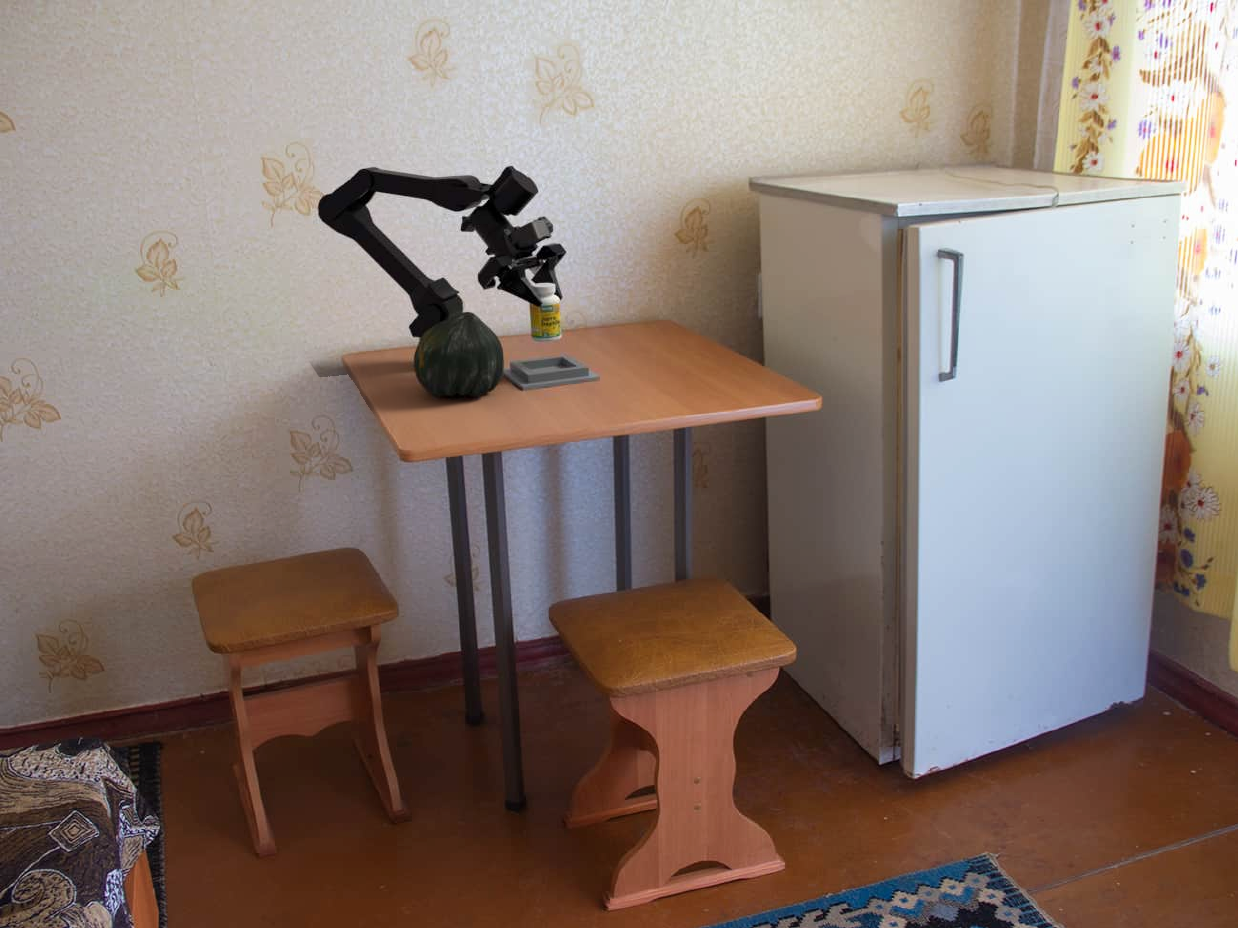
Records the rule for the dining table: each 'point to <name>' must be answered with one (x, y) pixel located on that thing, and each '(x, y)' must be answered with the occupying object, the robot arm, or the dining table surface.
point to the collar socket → (548, 372)
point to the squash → (459, 357)
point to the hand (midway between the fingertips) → (550, 302)
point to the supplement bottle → (546, 314)
